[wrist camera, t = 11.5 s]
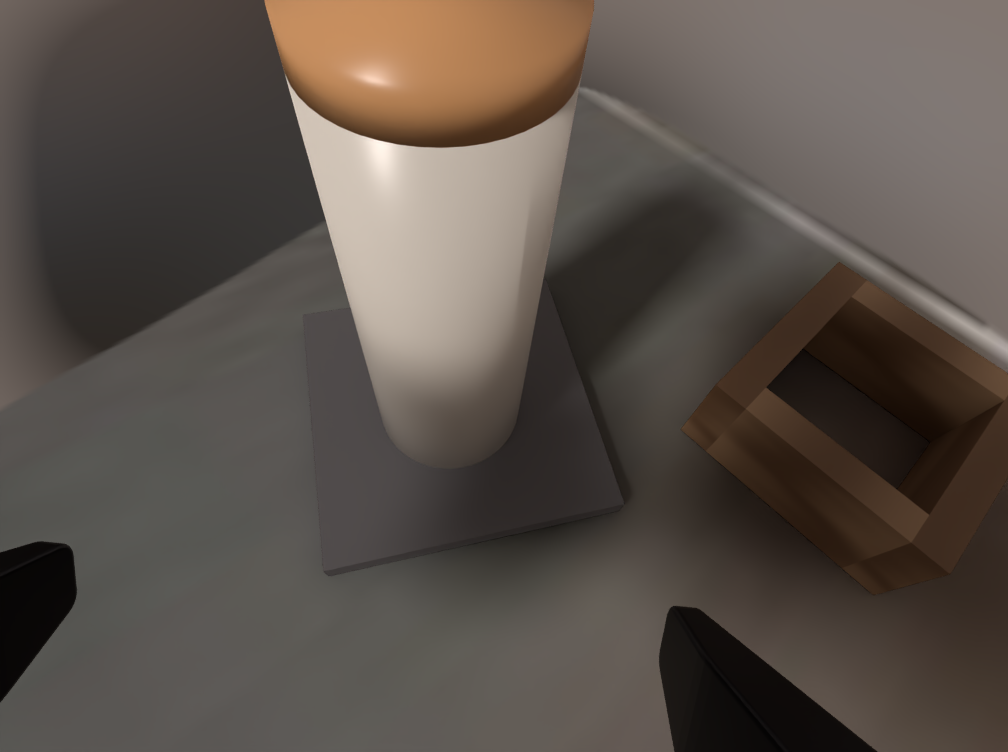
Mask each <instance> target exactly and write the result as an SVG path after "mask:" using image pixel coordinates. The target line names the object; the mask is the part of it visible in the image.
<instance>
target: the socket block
mask: <svg viewBox="0 0 1008 752" xmlns="http://www.w3.org/2000/svg"><path fill="white" fill-rule="evenodd" d="M802 349H805V350H806V351H807V352H809V353H810V354H811V355H813V356H814V357H816V358H817V359H818V360H820V361H821V362H822V363H824V364H825V365H826V366H828V367H829V368H830V369H832V370H833V371H835V372H836V373H837V374H839V375H840V376H841V377H843V378H844V379H845V380H847V381H848V382H850V383H851V384H852V385H854V386H855V387H856V388H858V389H859V390H860V391H862V392H863V393H864V394H866V395H867V396H869V397H870V398H871V399H873V400H874V401H875V402H877V403H878V404H879V405H881V406H882V407H884V408H885V409H886V410H888V411H889V412H890V413H892V414H893V415H894V416H896V417H897V418H898V419H900V420H901V421H903V422H904V423H905V424H907V425H908V426H909V427H911V428H912V429H913V430H915V431H916V432H918V433H919V434H920V435H922V436H923V437H924V438H926V439H927V440H928V441H930V444H929V445H928V447H927V448H926V449H925V451H924V452H923V454H922V455H921V456H920V458H919V459H918V461H917V462H916V464H915V465H914V466H913V468H912V469H911V471H910V472H909V474H908V475H907V476H906V478H905V479H904V481H903V482H902V483H901V485H900V486H899V488H898V489H895V488H894V487H893V486H892V485H890V484H889V483H888V482H886V481H885V480H884V479H883V478H881V477H880V476H879V475H877V474H876V473H875V472H874V471H872V470H871V469H870V468H868V467H867V466H866V465H865V464H863V463H862V462H861V461H860V460H858V459H857V458H856V457H854V456H853V455H852V454H851V453H849V452H848V451H847V450H845V449H844V448H843V447H842V446H840V445H839V444H838V443H836V442H835V441H834V440H833V439H831V438H830V437H829V436H828V435H826V434H825V433H824V432H822V431H821V430H820V429H819V428H817V427H816V426H815V425H813V424H812V423H811V422H810V421H808V420H807V419H806V418H804V417H803V416H802V415H801V414H799V413H798V412H797V411H796V410H794V409H793V408H792V407H790V406H789V405H788V404H787V403H785V402H784V401H783V400H781V399H780V398H779V397H778V396H776V395H775V394H774V393H772V392H771V391H770V390H769V389H767V388H766V387H767V386H768V385H769V384H770V383H771V382H772V381H773V379H774V378H775V377H776V376H777V375H778V374H779V373H780V372H781V371H782V370H783V369H784V368H785V367H786V366H787V365H788V364H789V363H790V361H791V360H792V359H793V358H794V357H795V356H796V355H797V354H798V353H799V352H800V351H801V350H802ZM681 430H682V431H683V432H684V433H685V434H687V435H688V436H689V437H690V438H691V439H692V440H694V441H695V442H696V443H697V444H698V445H699V446H701V447H702V448H703V449H704V450H705V451H706V452H707V453H709V454H710V455H711V456H712V457H713V458H714V459H716V460H717V461H718V462H719V463H720V464H721V465H723V466H724V467H725V468H726V469H727V470H728V471H730V472H731V473H732V474H733V475H734V476H735V477H737V478H738V479H739V480H740V481H741V482H742V483H744V484H745V485H746V486H747V487H748V488H749V489H750V490H752V491H753V492H754V493H755V494H756V495H757V496H759V497H760V498H761V499H762V500H763V501H764V502H766V503H767V504H768V505H769V506H770V507H771V508H773V509H774V510H775V511H776V512H777V513H778V514H780V515H781V516H782V517H783V518H784V519H785V520H786V521H788V522H789V523H790V524H791V525H792V526H793V527H795V528H796V529H797V530H798V531H799V532H800V533H802V534H803V535H804V536H805V537H806V538H807V539H809V540H810V541H811V542H812V543H813V544H814V545H816V546H817V547H818V548H819V549H820V550H821V551H822V552H824V553H825V554H826V555H827V556H828V557H829V558H831V559H832V560H833V561H834V562H835V563H836V564H838V565H839V566H840V567H841V568H842V569H843V570H845V571H846V572H847V573H848V574H849V575H850V576H852V577H853V578H854V579H855V580H856V581H857V582H859V583H860V584H861V585H862V586H863V587H864V588H865V589H867V590H868V591H869V592H870V593H871V594H872V595H876V594H880V593H883V592H887V591H891V590H894V589H898V588H902V587H906V586H909V585H913V584H917V583H920V582H924V581H928V580H931V579H935V578H939V577H942V576H946V575H950V574H951V572H952V571H953V569H954V567H955V566H956V564H957V562H958V561H959V559H960V557H961V556H962V554H963V552H964V551H965V549H966V547H967V546H968V544H969V542H970V541H971V539H972V537H973V536H974V534H975V532H976V531H977V529H978V527H979V526H980V524H981V522H982V521H983V519H984V517H985V516H986V514H987V512H988V510H989V509H990V507H991V505H992V504H993V502H994V500H995V499H996V497H997V495H998V494H999V492H1000V490H1001V489H1002V487H1003V485H1004V484H1005V482H1006V480H1007V479H1008V373H1006V372H1005V371H1003V370H1002V369H1000V368H999V367H997V366H996V365H994V364H993V363H991V362H990V361H988V360H987V359H985V358H984V357H982V356H981V355H979V354H978V353H976V352H975V351H973V350H972V349H970V348H969V347H967V346H966V345H964V344H963V343H961V342H960V341H958V340H957V339H955V338H954V337H952V336H950V335H949V334H947V333H946V332H944V331H943V330H941V329H940V328H938V327H937V326H935V325H934V324H932V323H931V322H929V321H928V320H926V319H925V318H923V317H922V316H920V315H919V314H917V313H916V312H914V311H913V310H911V309H910V308H908V307H907V306H905V305H904V304H902V303H901V302H899V301H898V300H896V299H895V298H893V297H891V296H890V295H888V294H887V293H885V292H884V291H882V290H881V289H879V288H878V287H876V286H875V285H873V284H872V283H870V282H869V281H867V280H866V279H864V278H863V277H861V276H860V275H858V274H857V273H855V272H854V271H852V270H851V269H849V268H848V267H846V266H845V265H843V264H842V263H840V262H838V263H837V264H836V265H835V266H834V267H833V268H832V269H831V270H830V271H829V272H828V273H827V274H826V275H825V276H824V277H823V278H822V279H821V280H820V281H819V282H818V283H817V284H816V285H815V286H814V287H813V288H812V289H811V290H810V291H809V292H808V293H807V294H806V295H805V296H804V297H803V298H802V299H801V300H800V301H799V302H798V303H797V304H796V305H795V306H794V307H793V308H792V309H791V310H790V311H789V312H788V313H787V314H786V315H785V316H784V317H783V318H782V319H781V320H780V321H779V322H778V323H777V324H776V325H775V326H774V327H773V328H772V329H771V330H770V331H769V332H768V333H767V334H766V335H765V336H764V337H763V338H762V339H761V340H760V341H759V342H758V343H757V344H756V345H755V346H754V347H753V348H752V349H751V350H750V351H749V352H748V353H747V354H746V355H745V356H744V357H743V358H742V359H741V360H740V361H739V362H738V363H737V364H736V365H735V366H734V367H733V368H732V369H731V370H730V371H729V372H728V373H727V374H726V375H725V376H724V377H723V378H722V379H721V380H720V381H719V382H718V383H717V384H716V385H715V386H714V387H713V389H712V390H711V391H710V393H709V394H708V395H707V396H706V398H705V399H704V400H703V402H702V403H701V404H700V405H699V407H698V408H697V409H696V410H695V412H694V413H693V414H692V416H691V417H690V418H689V419H688V421H687V422H686V423H685V424H684V426H683V427H682V428H681Z"/></svg>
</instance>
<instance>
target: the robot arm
mask: <svg viewBox="0 0 1008 752" xmlns="http://www.w3.org/2000/svg"><path fill="white" fill-rule="evenodd" d="M76 595H77V587H76V577H75V566H74V556H73V551H72V549H71V548H70V546H68V545H67V544H63V543H53V542H44V541H40V542H34V543H30V544H27V545H24V546H20V547H17V548H14V549H10V550H7V551H4V552H0V702H1V701H2V700H3V699H4V697H5V696H6V695H7V694H8V692H9V691H10V690H11V688H12V687H13V686H14V685H15V683H16V682H17V681H18V679H19V678H20V677H21V675H22V674H23V673H24V671H25V670H26V669H27V667H28V666H29V665H30V663H31V662H32V661H33V659H34V658H35V657H36V655H37V654H38V653H39V651H40V650H41V649H42V647H43V646H44V645H45V643H46V642H47V641H48V639H49V638H50V637H51V636H52V634H53V633H54V632H55V630H56V629H57V628H58V626H59V625H60V624H61V622H62V621H63V620H64V618H65V617H66V616H67V614H68V613H69V612H70V610H71V609H72V607H73V605H74V602H75V599H76ZM659 666H660V673H661V679H662V684H663V690H664V696H665V701H666V707H667V713H668V718H669V724H670V729H671V735H672V741H673V746H674V752H877V751H876V750H875V749H873V748H872V747H871V746H870V745H868V744H867V743H866V742H865V741H863V740H862V739H861V738H860V737H858V736H857V735H856V734H855V733H853V732H852V731H851V730H850V729H848V728H847V727H846V726H845V725H843V724H842V723H841V722H840V721H838V720H837V719H836V718H835V717H833V716H832V715H831V714H830V713H828V712H827V711H826V710H825V709H823V708H822V707H821V706H820V705H818V704H817V703H816V702H815V701H813V700H812V699H811V698H810V697H808V696H807V695H806V694H805V693H803V692H802V691H801V690H800V689H798V688H797V687H796V686H795V685H793V684H792V683H791V682H790V681H788V680H787V679H786V678H785V677H783V676H782V675H781V674H780V673H778V672H777V671H776V670H775V669H773V668H772V667H771V666H770V665H768V664H767V663H766V662H765V661H764V660H762V659H761V658H760V657H759V656H757V655H756V654H755V653H754V652H752V651H751V650H750V649H749V648H747V647H746V646H745V645H744V644H742V643H741V642H740V641H739V640H737V639H736V638H735V637H734V636H732V635H731V634H730V633H729V632H727V631H726V630H725V629H724V628H722V627H721V626H720V625H719V624H717V623H716V622H715V621H714V620H712V619H711V618H710V617H709V616H707V615H706V614H705V613H704V612H702V611H701V610H700V609H697V608H692V607H681V606H673V607H671V608H670V609H669V611H668V614H667V618H666V623H665V628H664V633H663V638H662V643H661V647H660V653H659Z"/></svg>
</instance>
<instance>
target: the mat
mask: <svg viewBox="0 0 1008 752" xmlns="http://www.w3.org/2000/svg"><path fill="white" fill-rule="evenodd" d="M303 323H304V335H305V348H306V361H307V373H308V386H309V398H310V411H311V423H312V436H313V448H314V461H315V473H316V486H317V498H318V511H319V523H320V536H321V548H322V561H323V571H324V572H325V573H326V574H327V575H328V576H333V575H337V574H341V573H346V572H350V571H355V570H359V569H364V568H368V567H373V566H377V565H381V564H386V563H390V562H395V561H399V560H404V559H408V558H412V557H417V556H421V555H426V554H430V553H435V552H439V551H443V550H448V549H452V548H457V547H461V546H466V545H470V544H474V543H479V542H483V541H488V540H492V539H497V538H501V537H505V536H510V535H514V534H519V533H523V532H528V531H532V530H536V529H541V528H545V527H550V526H554V525H559V524H563V523H567V522H572V521H576V520H581V519H585V518H590V517H594V516H598V515H603V514H607V513H612V512H616V511H619V510H620V509H621V508H622V507H623V505H624V504H625V503H624V500H623V498H622V495H621V492H620V489H619V486H618V483H617V480H616V478H615V475H614V472H613V469H612V466H611V463H610V460H609V458H608V455H607V452H606V449H605V446H604V443H603V440H602V438H601V435H600V432H599V429H598V426H597V423H596V420H595V418H594V415H593V412H592V409H591V406H590V403H589V400H588V398H587V395H586V392H585V389H584V386H583V383H582V380H581V378H580V375H579V372H578V369H577V366H576V363H575V360H574V358H573V355H572V352H571V349H570V346H569V343H568V340H567V338H566V335H565V332H564V329H563V326H562V323H561V320H560V318H559V315H558V312H557V309H556V306H555V303H554V300H553V298H552V295H551V292H550V289H549V286H548V283H547V280H546V279H543V283H542V288H541V294H540V299H539V304H538V310H537V315H536V320H535V326H534V331H533V336H532V342H531V347H530V352H529V358H528V363H527V369H526V374H525V379H524V385H523V390H522V395H521V401H520V406H519V411H518V416H517V420H516V424H515V427H514V429H513V431H512V433H511V435H510V437H509V438H508V440H507V441H506V442H505V444H504V445H503V446H502V447H501V448H500V449H499V450H498V451H497V452H495V453H494V454H493V455H491V456H490V457H488V458H486V459H485V460H483V461H481V462H478V463H476V464H473V465H470V466H466V467H461V468H446V469H445V468H436V467H431V466H427V465H424V464H422V463H419V462H417V461H415V460H413V459H411V458H409V457H408V456H407V455H405V454H404V453H402V452H401V451H400V450H399V449H398V448H397V447H396V446H395V444H394V443H393V442H392V441H391V439H390V438H389V436H388V434H387V432H386V430H385V427H384V425H383V421H382V418H381V414H380V410H379V407H378V403H377V400H376V396H375V393H374V389H373V386H372V382H371V378H370V375H369V371H368V368H367V364H366V361H365V357H364V354H363V350H362V346H361V343H360V339H359V336H358V332H357V329H356V325H355V321H354V318H353V314H352V311H351V308H344V309H338V310H331V311H324V312H318V313H311V314H304V315H303Z"/></svg>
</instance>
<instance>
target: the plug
mask: <svg viewBox="0 0 1008 752" xmlns="http://www.w3.org/2000/svg"><path fill="white" fill-rule="evenodd" d="M265 4H266V8H267V12H268V16H269V19H270V23H271V26H272V30H273V33H274V37H275V41H276V44H277V48H278V51H279V55H280V58H281V61H282V65H283V69H284V73H285V76H286V79H287V83H288V87H289V90H290V94H291V97H292V101H293V105H294V108H295V112H296V115H297V118H298V122H299V126H300V129H301V133H302V136H303V140H304V144H305V147H306V151H307V154H308V158H309V161H310V165H311V169H312V172H313V176H314V179H315V182H316V186H317V190H318V193H319V197H320V200H321V204H322V207H323V211H324V215H325V218H326V222H327V225H328V229H329V233H330V236H331V240H332V243H333V247H334V250H335V254H336V257H337V261H338V265H339V268H340V272H341V275H342V279H343V282H344V286H345V289H346V293H347V297H348V300H349V304H350V307H351V311H352V314H353V318H354V321H355V325H356V329H357V332H358V336H359V339H360V343H361V346H362V350H363V354H364V357H365V361H366V364H367V368H368V371H369V375H370V378H371V382H372V386H373V389H374V393H375V396H376V400H377V403H378V407H379V410H380V414H381V418H382V421H383V425H384V427H385V430H386V432H387V434H388V436H389V438H390V439H391V441H392V442H393V443H394V444H395V446H396V447H397V448H398V449H399V450H400V451H401V452H402V453H404V454H405V455H407V456H408V457H409V458H411V459H413V460H415V461H417V462H419V463H422V464H424V465H427V466H431V467H436V468H445V469H446V468H461V467H466V466H470V465H473V464H476V463H478V462H481V461H483V460H485V459H486V458H488V457H490V456H491V455H493V454H494V453H495V452H497V451H498V450H499V449H500V448H501V447H502V446H503V445H504V444H505V442H506V441H507V440H508V438H509V437H510V435H511V433H512V431H513V429H514V427H515V424H516V420H517V416H518V411H519V406H520V401H521V395H522V390H523V385H524V379H525V374H526V369H527V363H528V358H529V352H530V347H531V342H532V336H533V331H534V326H535V320H536V315H537V310H538V304H539V299H540V294H541V288H542V283H543V278H544V272H545V267H546V262H547V256H548V251H549V246H550V240H551V235H552V230H553V224H554V219H555V214H556V208H557V203H558V198H559V192H560V187H561V182H562V176H563V171H564V166H565V160H566V155H567V150H568V144H569V139H570V134H571V128H572V123H573V118H574V112H575V107H576V102H577V96H578V91H579V86H580V80H581V75H582V69H583V64H584V59H585V53H586V48H587V43H588V37H589V32H590V27H591V21H592V16H593V11H594V0H265Z"/></svg>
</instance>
